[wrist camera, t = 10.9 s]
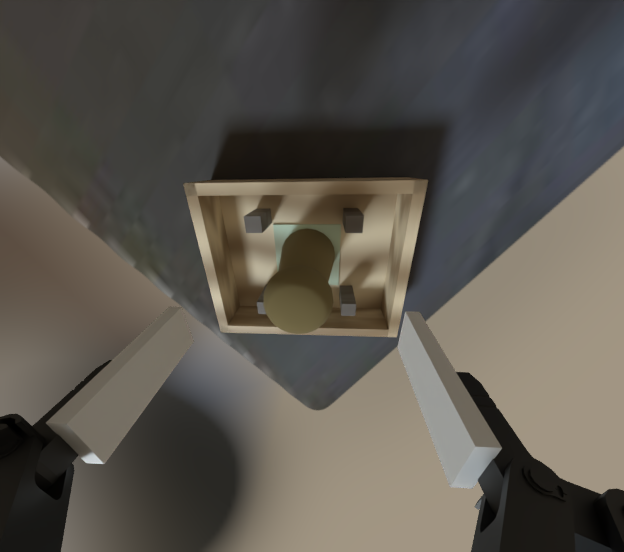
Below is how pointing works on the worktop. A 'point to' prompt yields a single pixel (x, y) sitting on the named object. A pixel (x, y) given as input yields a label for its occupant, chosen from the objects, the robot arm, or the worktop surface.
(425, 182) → the socket box
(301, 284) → the cork
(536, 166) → the worktop surface
